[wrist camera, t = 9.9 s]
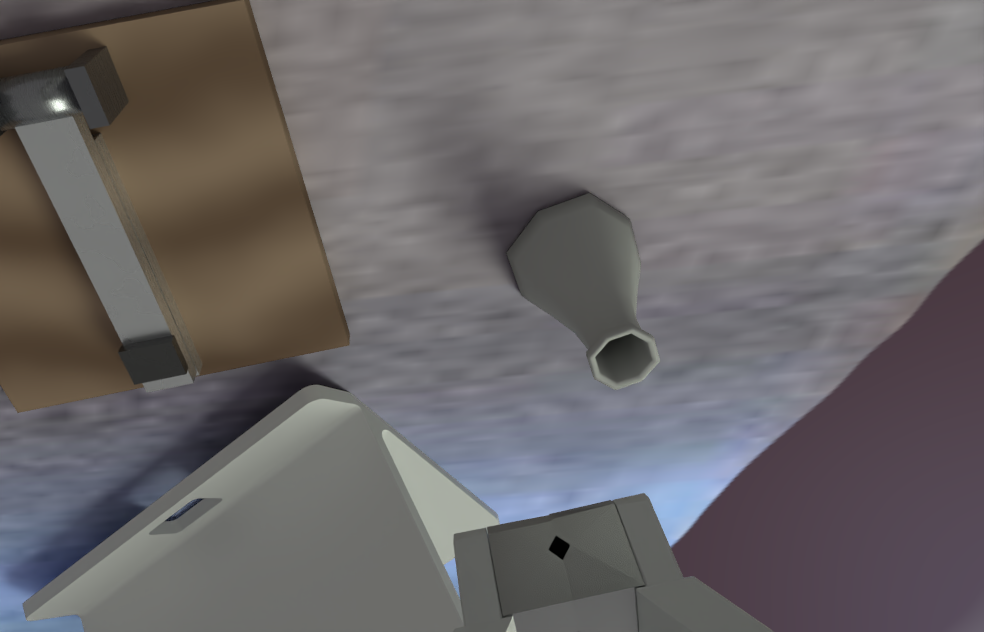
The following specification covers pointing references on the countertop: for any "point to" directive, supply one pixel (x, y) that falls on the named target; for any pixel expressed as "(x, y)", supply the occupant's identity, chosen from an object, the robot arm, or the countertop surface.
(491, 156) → the countertop surface
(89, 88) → the lower tong arm
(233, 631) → the tablet stand
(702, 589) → the robot arm
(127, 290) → the upper tong arm
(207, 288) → the walnut board
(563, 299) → the flask
